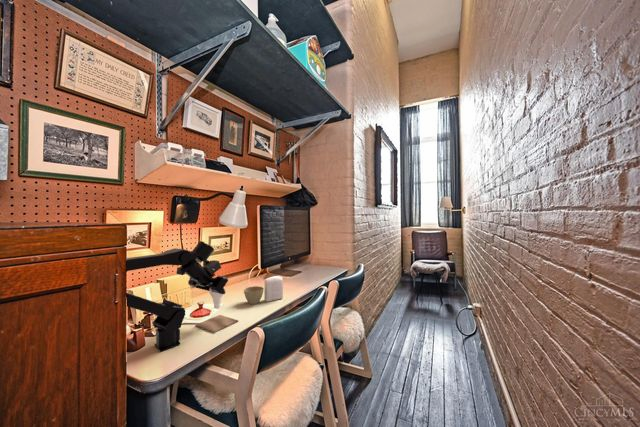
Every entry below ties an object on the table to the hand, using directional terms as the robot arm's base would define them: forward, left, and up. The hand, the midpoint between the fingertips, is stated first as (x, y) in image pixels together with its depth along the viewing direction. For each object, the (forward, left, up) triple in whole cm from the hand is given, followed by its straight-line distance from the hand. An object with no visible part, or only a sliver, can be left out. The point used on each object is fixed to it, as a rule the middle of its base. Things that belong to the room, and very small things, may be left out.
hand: (219, 292), depth 110 cm
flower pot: (+23, +9, -13) cm, 28 cm away
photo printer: (+33, +5, -13) cm, 36 cm away
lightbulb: (-1, -1, -7) cm, 7 cm away
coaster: (-2, -1, -13) cm, 13 cm away
